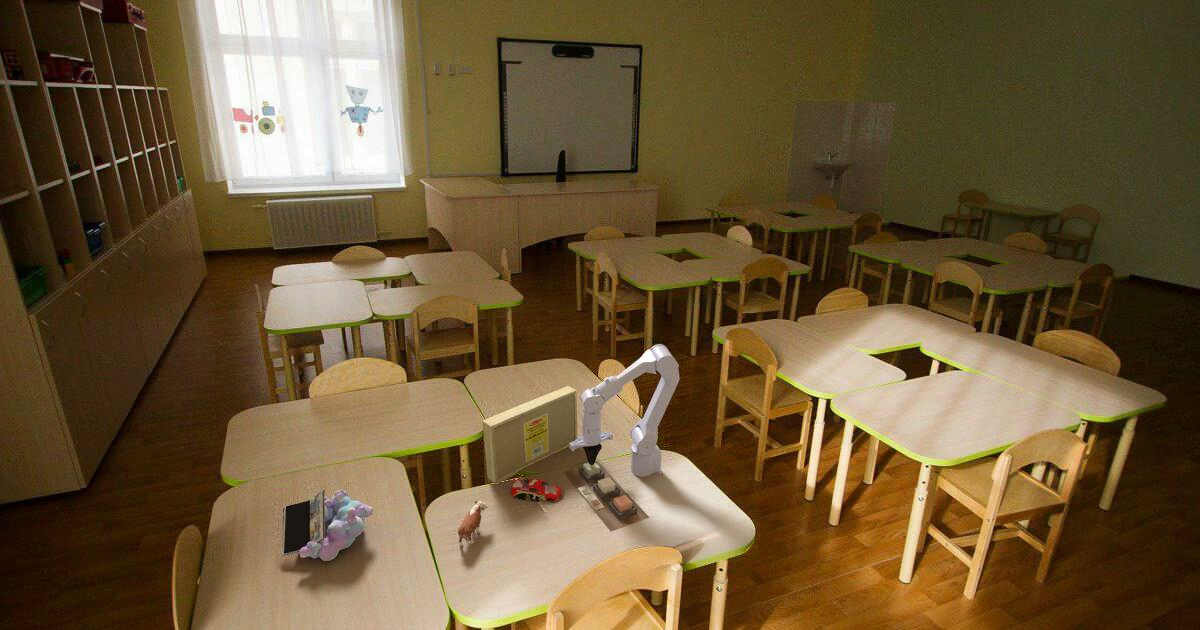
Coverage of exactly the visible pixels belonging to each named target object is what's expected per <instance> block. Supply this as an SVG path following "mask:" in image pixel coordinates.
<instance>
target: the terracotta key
mask: <svg viewBox="0 0 1200 630" xmlns="http://www.w3.org/2000/svg"><path fill="white" fill-rule="evenodd" d="M614 506H615V508H616V509H617V510H618V511H619V512H620V513H621V512H624V511H627V510H630V509H632V501H631V500H630V499H629V498H628V497H627V496H626V495H623V496H621V497H618V498H615V499H614Z"/></svg>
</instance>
